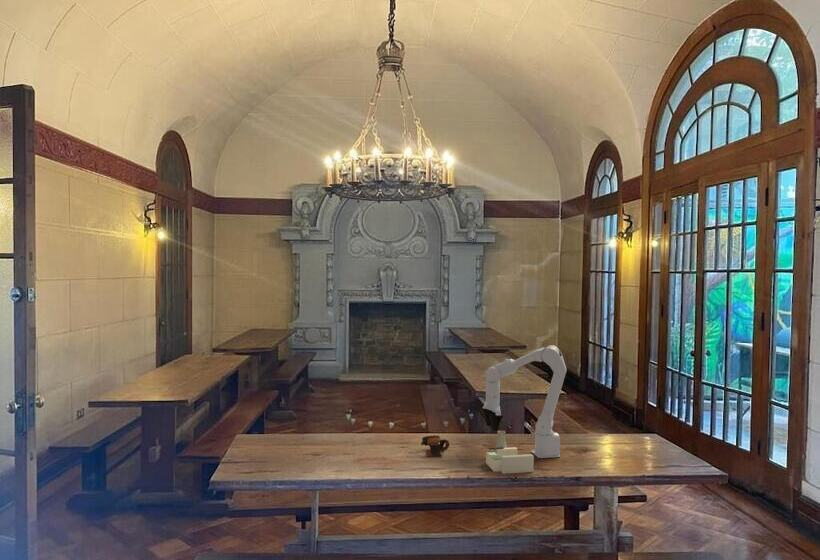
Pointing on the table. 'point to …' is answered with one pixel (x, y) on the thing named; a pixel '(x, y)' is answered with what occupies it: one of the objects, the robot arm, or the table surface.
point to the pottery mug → (435, 445)
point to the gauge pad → (505, 451)
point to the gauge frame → (510, 462)
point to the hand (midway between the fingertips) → (491, 428)
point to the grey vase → (500, 440)
